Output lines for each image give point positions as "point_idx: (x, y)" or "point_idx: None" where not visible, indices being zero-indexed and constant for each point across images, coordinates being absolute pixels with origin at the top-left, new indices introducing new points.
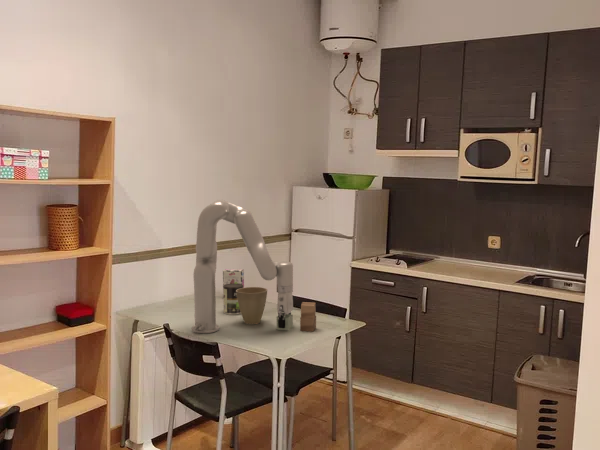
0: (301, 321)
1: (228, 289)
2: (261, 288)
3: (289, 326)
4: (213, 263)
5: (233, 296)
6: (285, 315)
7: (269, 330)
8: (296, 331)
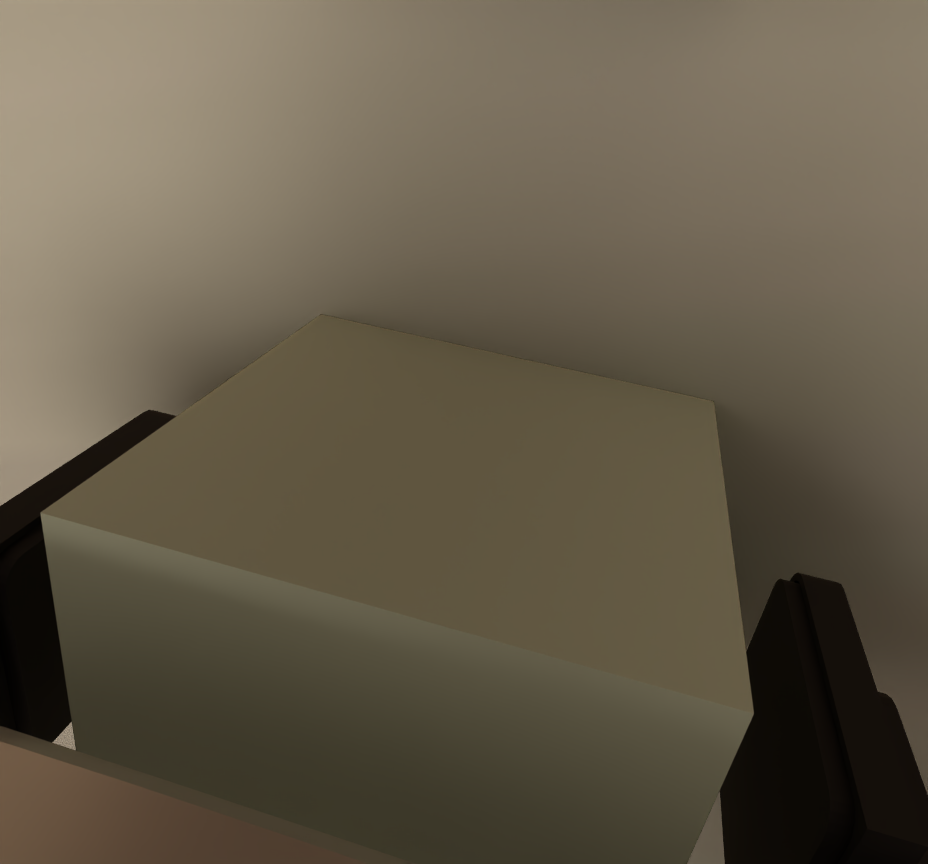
0: None
1: None
2: None
3: (662, 441)
4: None
5: None
6: (298, 810)
7: (720, 836)
8: (866, 131)
